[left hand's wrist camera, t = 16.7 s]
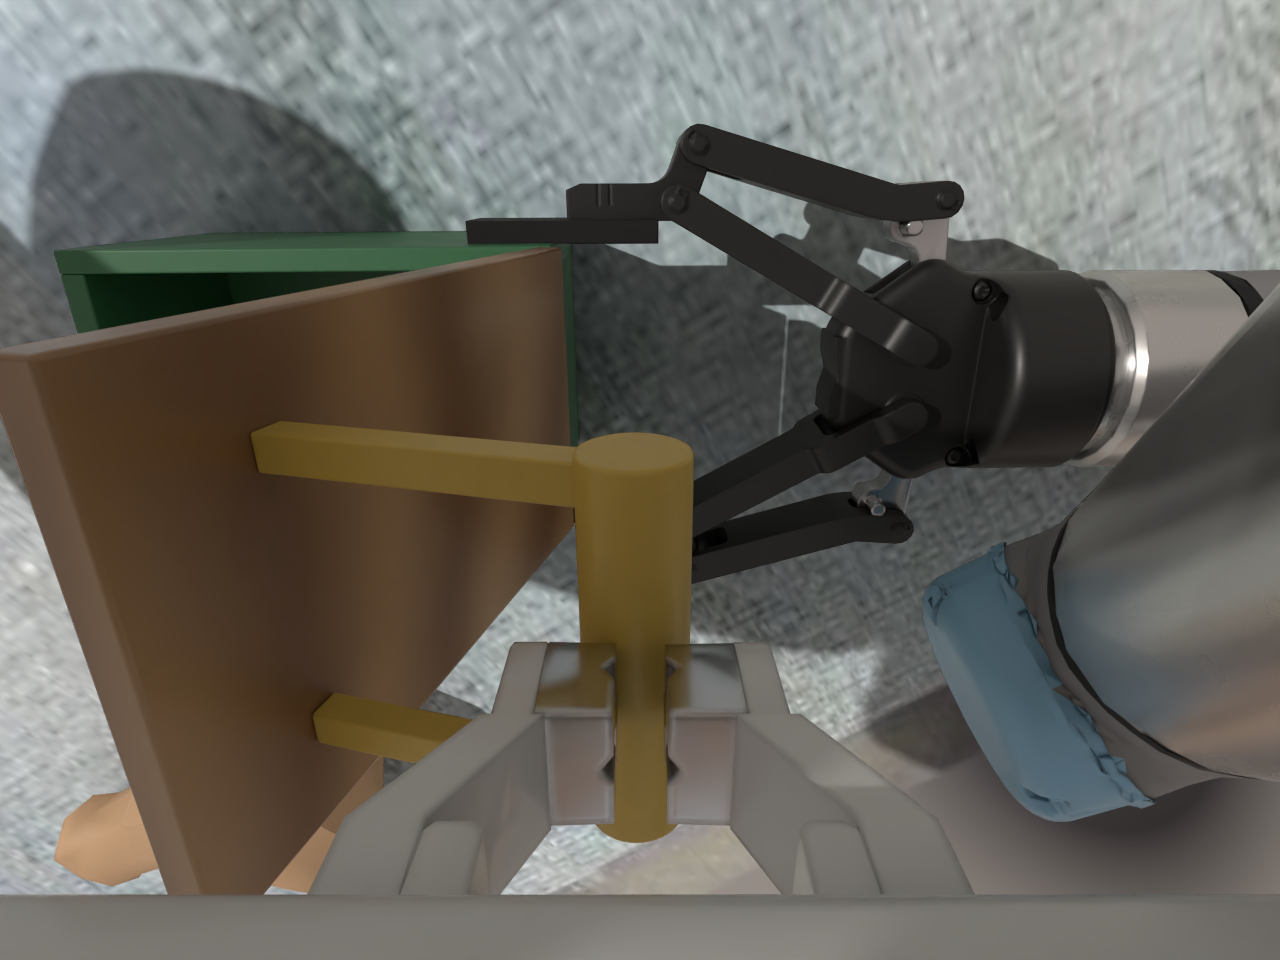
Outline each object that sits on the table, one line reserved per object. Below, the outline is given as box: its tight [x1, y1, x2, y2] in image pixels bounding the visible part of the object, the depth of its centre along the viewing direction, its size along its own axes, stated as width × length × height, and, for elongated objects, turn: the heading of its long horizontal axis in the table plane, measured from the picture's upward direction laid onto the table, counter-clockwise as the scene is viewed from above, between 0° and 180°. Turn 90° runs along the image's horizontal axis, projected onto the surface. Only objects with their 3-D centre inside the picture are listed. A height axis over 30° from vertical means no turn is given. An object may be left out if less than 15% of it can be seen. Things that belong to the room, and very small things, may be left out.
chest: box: [54, 231, 579, 447], centre depth 30 cm, size 16×10×10 cm, turn 90°
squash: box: [54, 756, 384, 893], centre depth 40 cm, size 11×20×9 cm, turn 120°
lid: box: [0, 247, 694, 895], centre depth 17 cm, size 17×10×8 cm
